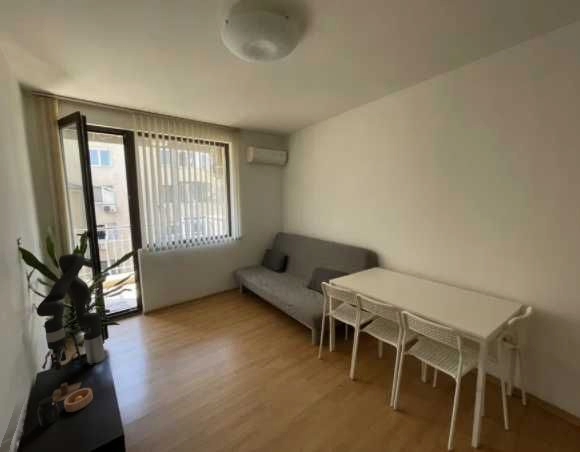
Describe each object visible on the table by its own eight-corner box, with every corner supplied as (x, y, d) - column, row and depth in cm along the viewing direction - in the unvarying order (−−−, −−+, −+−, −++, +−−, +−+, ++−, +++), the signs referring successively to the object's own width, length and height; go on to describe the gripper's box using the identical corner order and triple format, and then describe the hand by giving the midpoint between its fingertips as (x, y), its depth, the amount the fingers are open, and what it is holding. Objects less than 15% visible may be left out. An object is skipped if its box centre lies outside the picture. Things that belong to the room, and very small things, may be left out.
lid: (55, 391, 141) (53, 381, 140) (81, 382, 147) (80, 373, 146) (46, 406, 131) (44, 396, 130) (76, 396, 136) (74, 387, 135)
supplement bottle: (56, 414, 126) (52, 392, 125) (62, 419, 123) (58, 397, 121) (38, 425, 120) (33, 402, 119) (43, 431, 117) (38, 408, 115)
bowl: (69, 401, 134) (68, 393, 133) (94, 393, 139) (93, 385, 138) (62, 417, 124) (61, 408, 123) (90, 407, 129) (88, 398, 128)
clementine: (76, 401, 132) (74, 395, 132) (84, 399, 134) (83, 392, 133) (74, 406, 129) (72, 400, 128) (82, 403, 130) (81, 397, 130)
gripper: (51, 333, 139) (56, 360, 141) (41, 346, 126) (47, 375, 129) (69, 329, 142) (73, 355, 144) (60, 341, 130) (66, 370, 132)
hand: (61, 364), depth 137 cm, fingers open, 8 cm apart
